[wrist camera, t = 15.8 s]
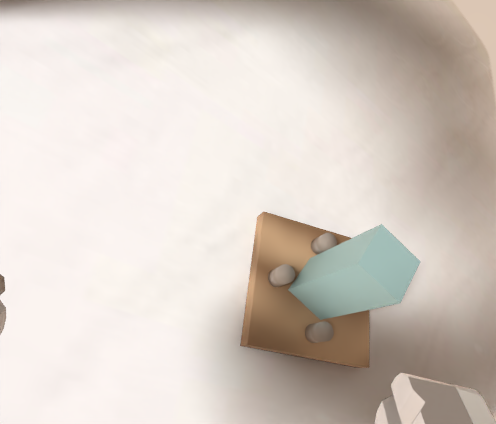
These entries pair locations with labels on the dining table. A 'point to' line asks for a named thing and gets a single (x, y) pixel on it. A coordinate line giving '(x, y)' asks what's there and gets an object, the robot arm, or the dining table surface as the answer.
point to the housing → (288, 306)
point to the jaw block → (356, 275)
